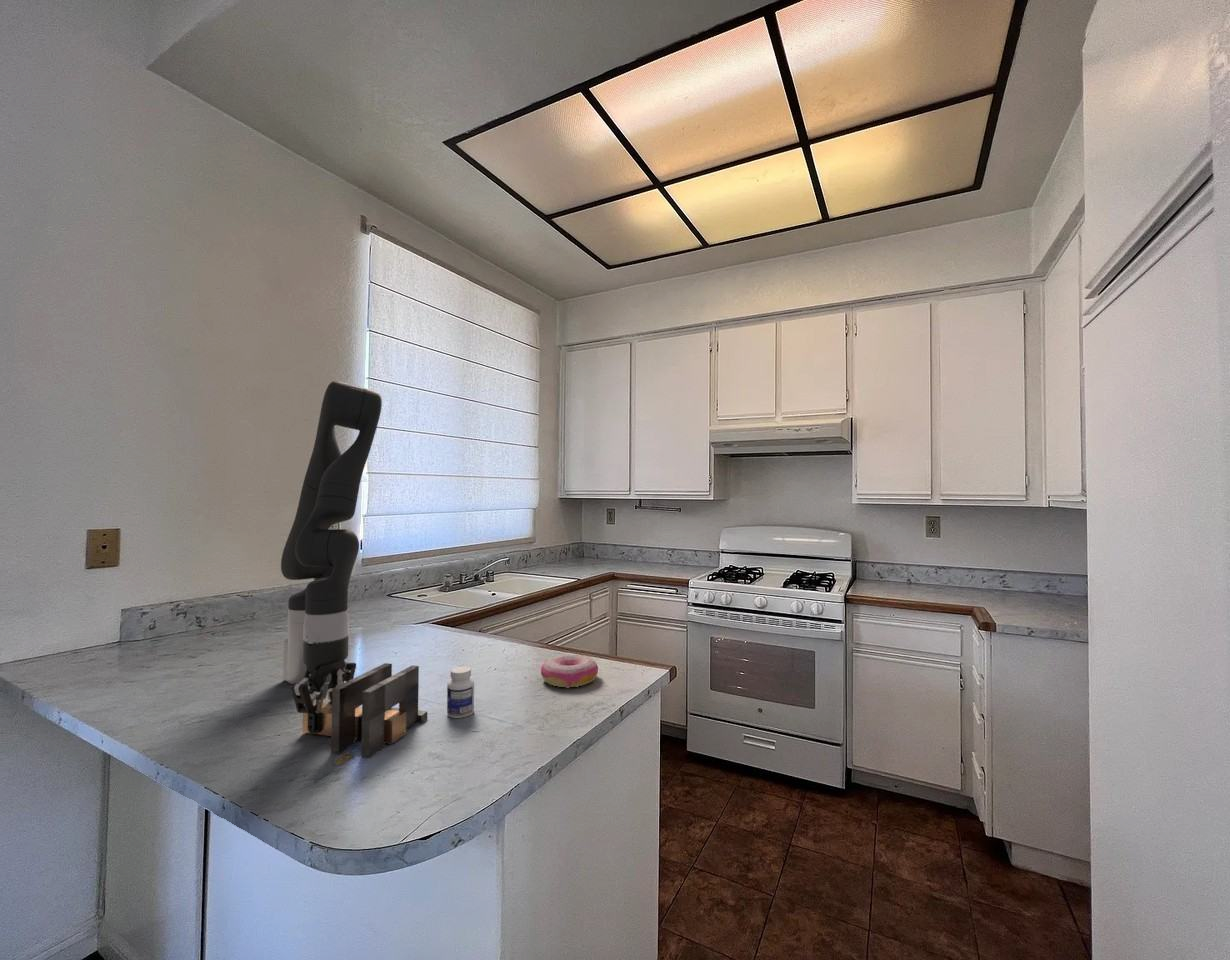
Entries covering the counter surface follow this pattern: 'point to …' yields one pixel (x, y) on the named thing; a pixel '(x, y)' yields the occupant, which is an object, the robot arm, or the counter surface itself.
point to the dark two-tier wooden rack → (373, 707)
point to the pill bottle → (460, 693)
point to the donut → (569, 670)
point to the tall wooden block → (392, 726)
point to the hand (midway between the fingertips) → (324, 726)
